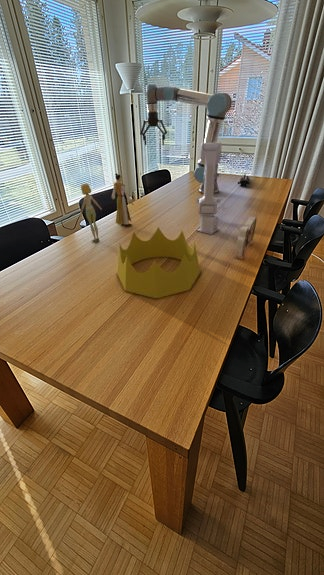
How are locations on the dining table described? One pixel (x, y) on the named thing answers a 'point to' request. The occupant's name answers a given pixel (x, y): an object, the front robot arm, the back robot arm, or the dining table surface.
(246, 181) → the toy
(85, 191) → the sculpture
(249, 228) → the cutout
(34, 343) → the dining table surface
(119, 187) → the figurine
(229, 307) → the dining table surface
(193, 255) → the crown
